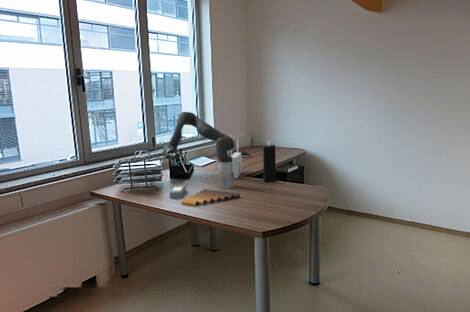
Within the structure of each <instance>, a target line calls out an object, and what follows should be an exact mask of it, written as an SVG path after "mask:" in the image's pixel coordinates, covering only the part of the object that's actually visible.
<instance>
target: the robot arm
mask: <svg viewBox="0 0 470 312" xmlns="http://www.w3.org/2000/svg"><path fill="white" fill-rule="evenodd" d="M184 126H193V127H194V128H195V129H196V131H197V133H198V134H199V135H200V136H202V137H203V138H204V139H207V140H210V141H214V142H216V143H215V149H216V157H217V161H218V162H217V163H218V179H219V180H218V181H219V188H220V189H232V188H234V187H235V179H234V172H233V166H232V157H231V156H232V155H229V154H228V152H229V151H230V150H232V149H233V150H234V148H235V146H236V145H235V141H234V139H233V138H232V136H231V137H230V135H227V134H225V133H222V132H221V131H220V130H218V129H217V128H214V127H213V126H212V125H210V124H209V123H207V122H206V121H204V120H203V119H201V118H200V117H198V116H197V115H196V114H195V113H193V112H191V111H182V112H180V113H179V116H178V118H177V121H176V124H175V128H174V131H173V134H172V136H171V138H170V140H169V142H168V144H169V145H167V144H166V145H164V147H163V149H162V154H163V159H164V160H165V159H166V160H170V161H174V160H176V159H179V158H182V153H178V152H177V151H178V147H179V144H180V142H181V141H182V138H183V134H182V129H183V128H184ZM227 151H228V152H227Z"/></svg>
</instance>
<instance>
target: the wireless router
mask: <svg viewBox="0 0 470 312" xmlns="http://www.w3.org/2000/svg"><path fill="white" fill-rule="evenodd" d="M229 137H231V138H232V134H231V133H229ZM239 140H240V139H239V137H238V138H237V140H236V142H237V143H236V144H237V145H236V150H234V148H233V149H232V150H229V151H227V155H229V156H232V155H233V154H234V153H241V158H242V159H243V158H250V156H252V155H251V154H250V153H249V152H246V151H244V150H240V149H239Z"/></svg>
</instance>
